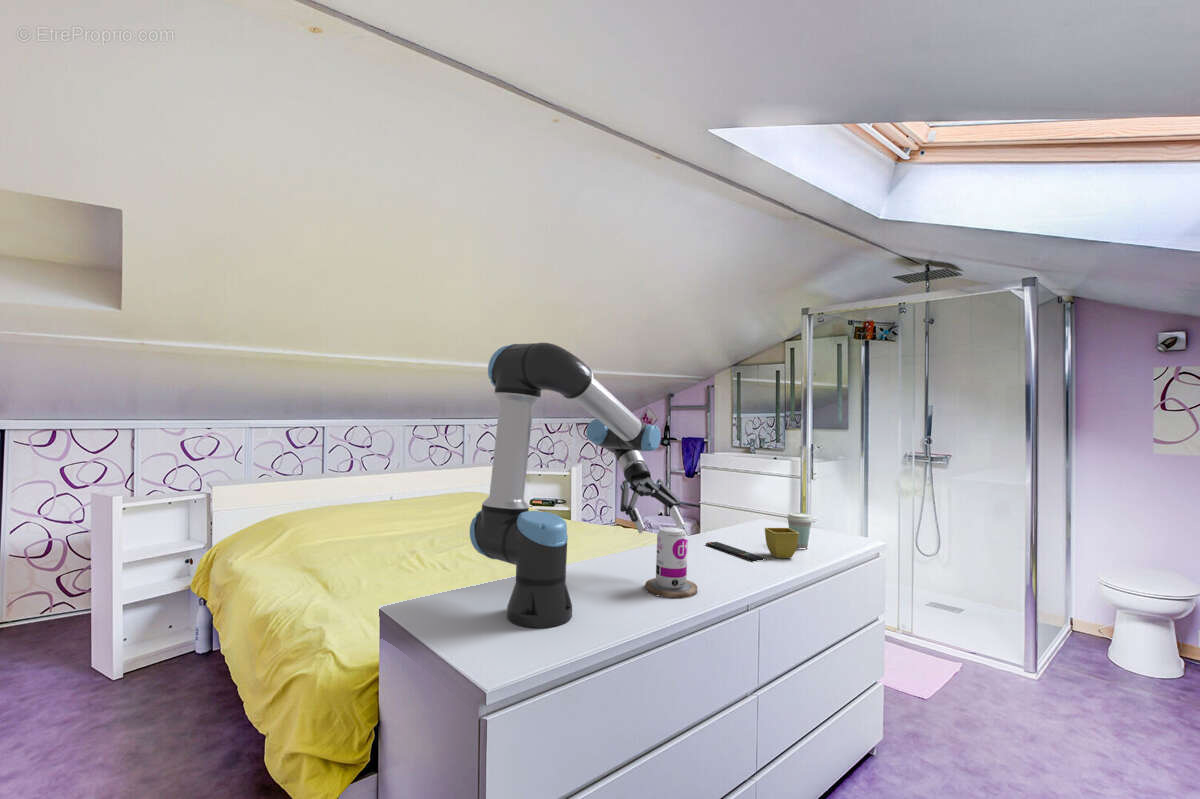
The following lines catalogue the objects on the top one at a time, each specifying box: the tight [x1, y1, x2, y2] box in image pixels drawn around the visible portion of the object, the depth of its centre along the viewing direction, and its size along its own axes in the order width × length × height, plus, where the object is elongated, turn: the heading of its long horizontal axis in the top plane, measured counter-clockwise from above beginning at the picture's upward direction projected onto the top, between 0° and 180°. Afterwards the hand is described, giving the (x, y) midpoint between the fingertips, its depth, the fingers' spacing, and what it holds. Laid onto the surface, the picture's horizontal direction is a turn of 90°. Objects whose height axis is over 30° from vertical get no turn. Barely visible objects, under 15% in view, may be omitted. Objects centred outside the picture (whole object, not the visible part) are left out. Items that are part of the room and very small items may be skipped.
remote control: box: [705, 541, 765, 562], centre depth 199 cm, size 5×24×1 cm, turn 29°
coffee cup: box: [786, 512, 813, 549], centre depth 208 cm, size 8×9×12 cm
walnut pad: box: [644, 577, 698, 599], centre depth 156 cm, size 14×14×1 cm
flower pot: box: [764, 527, 799, 559], centre depth 195 cm, size 9×9×9 cm
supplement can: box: [655, 526, 689, 589], centre depth 156 cm, size 8×8×15 cm
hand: (662, 529), depth 161 cm, fingers open, 13 cm apart
